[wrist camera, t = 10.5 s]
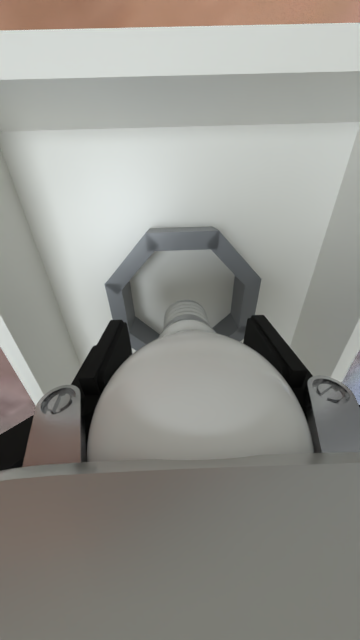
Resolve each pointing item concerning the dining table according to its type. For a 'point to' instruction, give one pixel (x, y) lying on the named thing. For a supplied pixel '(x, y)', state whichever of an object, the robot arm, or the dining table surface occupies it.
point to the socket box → (178, 188)
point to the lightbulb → (196, 399)
